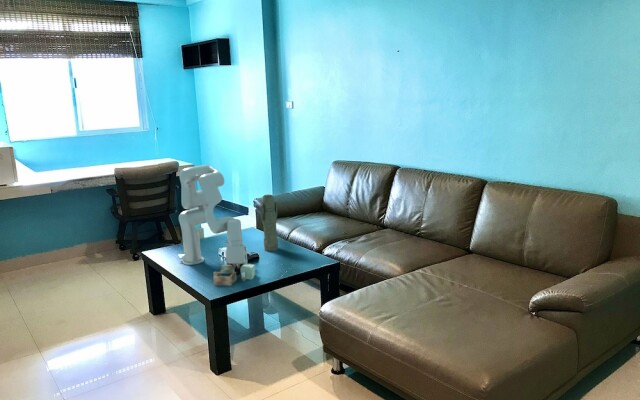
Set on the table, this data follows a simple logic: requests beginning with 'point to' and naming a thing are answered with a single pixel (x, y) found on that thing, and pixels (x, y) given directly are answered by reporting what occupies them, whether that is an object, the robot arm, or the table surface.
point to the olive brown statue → (269, 222)
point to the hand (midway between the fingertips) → (237, 274)
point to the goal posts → (244, 275)
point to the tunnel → (225, 279)
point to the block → (248, 271)
